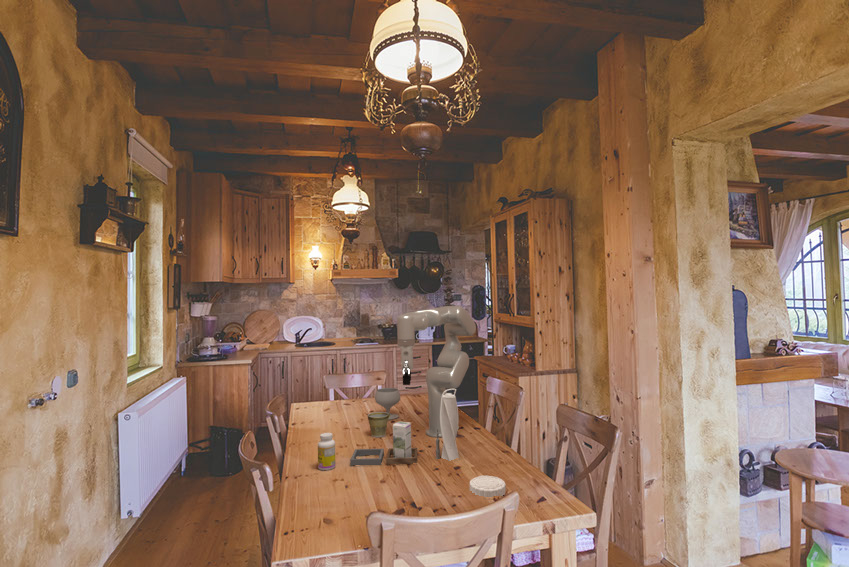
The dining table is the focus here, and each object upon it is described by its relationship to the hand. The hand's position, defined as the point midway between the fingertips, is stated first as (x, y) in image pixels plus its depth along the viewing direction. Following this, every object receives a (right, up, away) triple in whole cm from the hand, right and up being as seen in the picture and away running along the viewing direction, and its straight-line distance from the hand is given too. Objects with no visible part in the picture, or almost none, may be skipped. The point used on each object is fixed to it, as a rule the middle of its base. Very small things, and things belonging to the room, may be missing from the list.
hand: (407, 382), depth 192 cm
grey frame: (-15, -28, -14) cm, 35 cm away
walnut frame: (-1, -28, -14) cm, 31 cm away
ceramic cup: (-13, -30, +19) cm, 38 cm away
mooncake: (+29, -27, -45) cm, 60 cm away
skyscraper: (+18, -28, -15) cm, 36 cm away
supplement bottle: (-30, -29, -21) cm, 47 cm away
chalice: (-12, -31, +50) cm, 60 cm away
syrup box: (-1, -28, -14) cm, 31 cm away
